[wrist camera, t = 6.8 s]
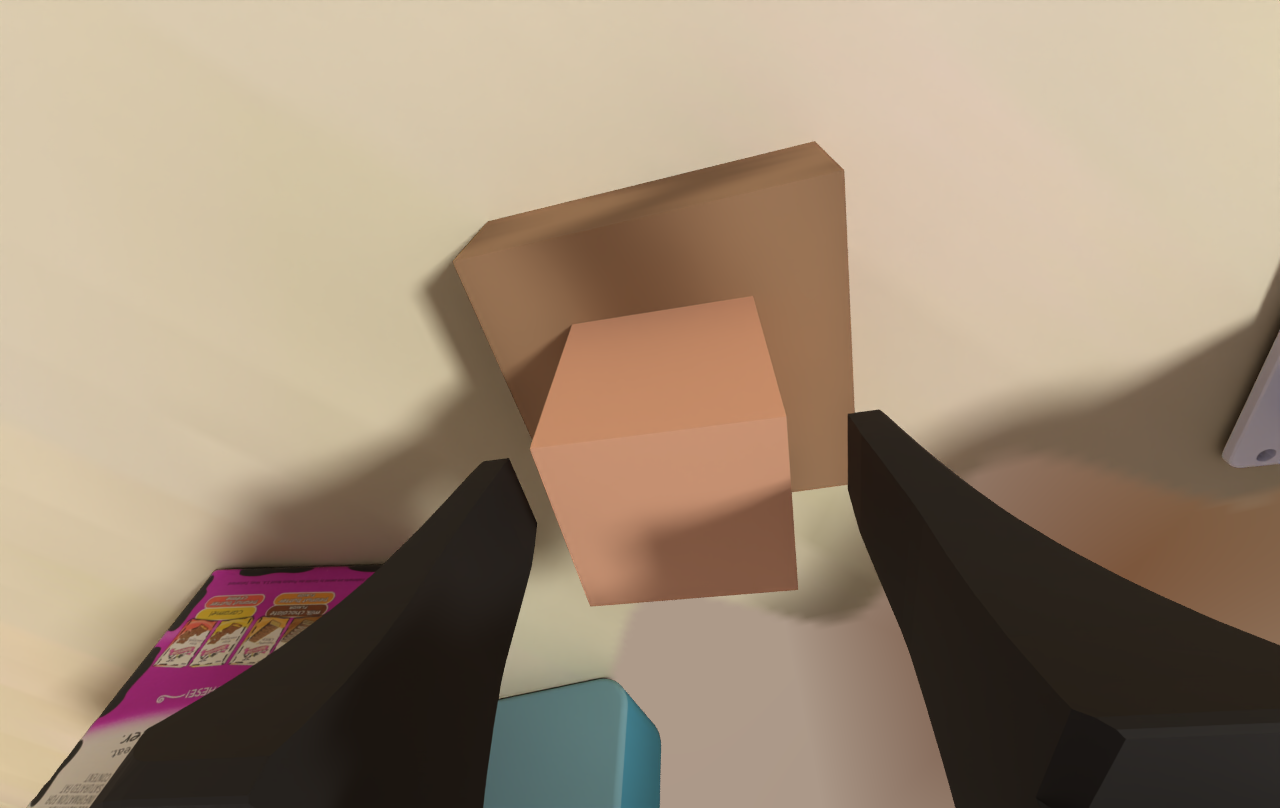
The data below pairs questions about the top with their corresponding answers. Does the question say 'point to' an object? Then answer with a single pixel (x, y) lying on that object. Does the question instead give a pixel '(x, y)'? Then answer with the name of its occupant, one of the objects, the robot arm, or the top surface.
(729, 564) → the terracotta block
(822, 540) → the top surface
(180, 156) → the top surface
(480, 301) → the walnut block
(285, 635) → the candy bar box
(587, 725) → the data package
